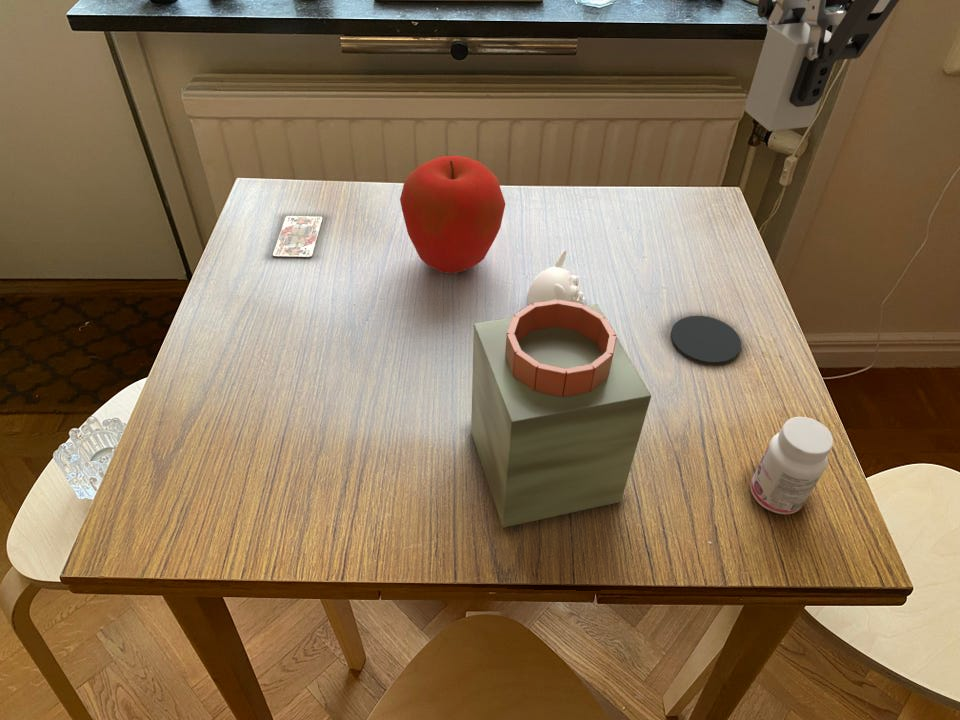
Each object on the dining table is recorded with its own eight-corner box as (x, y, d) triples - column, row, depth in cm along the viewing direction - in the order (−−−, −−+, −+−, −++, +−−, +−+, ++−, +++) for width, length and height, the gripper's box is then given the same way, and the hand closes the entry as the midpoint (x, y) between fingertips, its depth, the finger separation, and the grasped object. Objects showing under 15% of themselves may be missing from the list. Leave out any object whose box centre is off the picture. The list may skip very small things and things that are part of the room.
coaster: (753, 358, 77) (754, 355, 76) (689, 370, 75) (690, 367, 75) (719, 313, 82) (720, 311, 81) (659, 323, 80) (659, 321, 80)
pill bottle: (747, 468, 66) (776, 408, 60) (800, 477, 65) (834, 417, 59) (750, 510, 63) (781, 451, 57) (806, 520, 62) (843, 462, 56)
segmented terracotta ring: (627, 385, 54) (633, 362, 52) (524, 404, 52) (526, 381, 50) (588, 316, 59) (592, 293, 58) (494, 331, 58) (495, 308, 56)
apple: (489, 303, 82) (493, 197, 72) (390, 286, 84) (382, 180, 74) (510, 243, 91) (517, 141, 81) (420, 228, 92) (416, 127, 83)
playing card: (311, 256, 87) (311, 256, 87) (272, 256, 87) (272, 255, 87) (322, 216, 94) (322, 216, 94) (286, 216, 94) (286, 215, 94)
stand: (621, 502, 63) (651, 395, 53) (502, 528, 61) (511, 422, 51) (577, 411, 70) (597, 303, 61) (470, 431, 68) (473, 323, 58)
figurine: (582, 340, 78) (590, 294, 73) (524, 336, 78) (528, 289, 74) (581, 294, 84) (588, 249, 79) (527, 290, 84) (531, 244, 79)
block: (811, 126, 59) (843, 40, 54) (768, 131, 58) (797, 44, 53) (784, 105, 61) (813, 21, 57) (743, 110, 61) (768, 25, 56)
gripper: (1002, -145, 42) (880, 127, 54) (853, -183, 52) (778, 55, 64) (895, -143, 40) (794, 137, 53) (763, -182, 50) (703, 61, 62)
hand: (786, 91), depth 58 cm, fingers closed on block, 4 cm apart
